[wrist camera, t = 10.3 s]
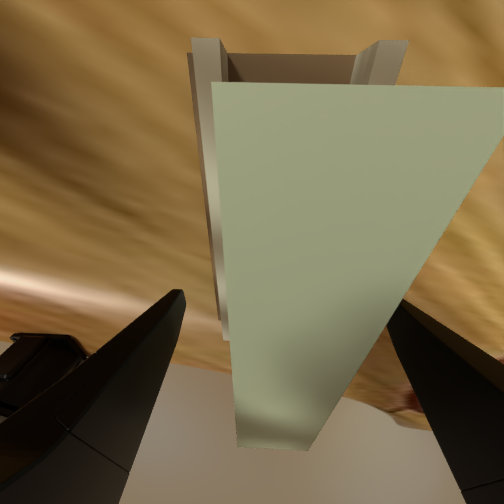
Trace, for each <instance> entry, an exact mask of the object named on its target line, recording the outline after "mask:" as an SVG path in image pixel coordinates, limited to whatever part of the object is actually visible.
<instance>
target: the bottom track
mask: <svg viewBox="0 0 504 504" xmlns="http://www.w3.org/2000/svg"><path fill="white" fill-rule="evenodd" d="M408 42H409V40H379V41H377V42H376V43H374V44H373V45H371V46H370V47H368V48H367V49H365V50H363V51H362V52H360V53H359V54H357V55H308V54H237V53H227V52H226V50H225V48H224V46H223V44H222V42H221V40H220V38H191V43H192V53H187V58H188V66H189V75H190V83H191V91H192V100H193V108H194V117H195V125H196V134H197V142H198V151H199V159H200V168H201V176H202V184H203V193H204V201H205V210H206V218H207V227H208V235H209V244H210V252H211V261H212V269H213V277H214V286H215V294H216V303H217V311H218V320H221V324H222V333H223V340H226V341H230V337H229V323H228V309H227V295H226V281H225V268H224V254H223V240H222V226H221V212H220V199H219V185H218V171H217V157H216V143H215V129H214V116H213V102H212V88H211V82H248V83H299V84H349V85H395V83H396V80H397V77H398V74H399V71H400V67H401V64H402V61H403V58H404V55H405V52H406V49H407V46H408Z"/></svg>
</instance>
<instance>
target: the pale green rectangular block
mask: <svg viewBox="0 0 504 504" xmlns="http://www.w3.org/2000/svg"><path fill="white" fill-rule="evenodd" d="M211 88H212V102H213V116H214V129H215V143H216V157H217V171H218V185H219V199H220V212H221V226H222V240H223V254H224V268H225V281H226V295H227V309H228V323H229V337H230V350H231V364H232V378H233V391H234V406H235V417H236V418H235V419H236V431H237V432H236V433H237V445H238V447H245V448H264V449H283V450H303V451H308V450H309V448H310V447H311V445H312V443H313V442H314V440H315V439H316V437H317V435H318V434H319V432H320V431H321V429H322V427H323V425H324V424H325V422H326V421H327V419H328V418H329V416H330V414H331V413H332V411H333V410H334V408H335V406H336V405H337V403H338V402H339V400H340V398H341V397H342V395H343V394H344V392H345V390H346V389H347V387H348V385H349V384H350V382H351V381H352V379H353V377H354V376H355V374H356V373H357V371H358V369H359V368H360V366H361V365H362V363H363V361H364V360H365V358H366V356H367V355H368V353H369V352H370V350H371V348H372V347H373V345H374V344H375V342H376V340H377V339H378V337H379V336H380V334H381V332H382V331H383V329H384V327H385V326H386V324H387V323H388V321H389V319H390V318H391V316H392V315H393V313H394V311H395V310H396V308H397V307H398V305H399V303H400V302H401V300H402V298H403V297H404V295H405V294H406V292H407V290H408V289H409V287H410V286H411V284H412V282H413V281H414V279H415V278H416V276H417V274H418V273H419V271H420V269H421V268H422V266H423V265H424V263H425V261H426V260H427V258H428V257H429V255H430V253H431V252H432V250H433V249H434V247H435V245H436V244H437V242H438V240H439V239H440V237H441V236H442V234H443V232H444V231H445V229H446V228H447V226H448V224H449V223H450V221H451V220H452V218H453V216H454V215H455V213H456V211H457V210H458V208H459V207H460V205H461V203H462V202H463V200H464V199H465V197H466V195H467V194H468V192H469V191H470V189H471V187H472V186H473V184H474V182H475V181H476V179H477V178H478V176H479V174H480V173H481V171H482V170H483V168H484V166H485V165H486V163H487V162H488V160H489V158H490V157H491V155H492V153H493V152H494V150H495V149H496V147H497V145H498V144H499V142H500V141H501V139H502V137H503V136H504V88H500V87H450V86H399V85H349V84H299V83H248V82H211Z"/></svg>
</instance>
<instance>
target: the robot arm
mask: <svg viewBox="0 0 504 504" xmlns="http://www.w3.org/2000/svg"><path fill="white" fill-rule="evenodd" d="M185 308H186V300H185V296H184V292H183V290H182V289H173V290H171V291H170V292H169V293H167V294H166V295H165V296H164V297H162V298H161V299H160V300H159V301H158V302H156V303H155V304H154V305H153V306H151V307H150V308H149V309H148V310H146V311H145V312H144V313H143V314H142V315H140V316H139V317H138V318H137V319H135V320H134V321H133V322H132V323H130V324H129V325H128V326H127V327H126V328H124V329H123V330H122V331H121V332H119V333H118V334H117V335H116V336H115V337H113V338H112V339H111V340H110V341H108V342H107V343H106V344H105V345H103V346H102V347H101V348H100V349H99V350H97V351H96V353H93V354H92V355H91V356H90V357H89V358H86V356H85V355H84V354H83V353H82V351H81V350H80V349H79V348H78V347H77V345H76V344H75V343H74V342H73V341H72V339H71V338H70V337H68V336H65V335H43V334H19V333H14V334H13V335H12V336H11V337H10V339H11V340H12V341H13V342H14V343H13V344H12V345H11V346H10V347H9V348H8V349H7V350H6V351H5V352H4V353H3V354H1V355H0V504H119V501H120V498H121V496H122V493H123V490H124V487H125V485H126V482H127V479H128V476H129V472H130V470H131V468H132V465H133V462H134V459H135V457H136V454H137V451H138V448H139V446H140V443H141V440H142V437H143V435H144V432H145V429H146V426H147V423H148V421H149V418H150V415H151V413H152V410H153V407H154V404H155V402H156V398H157V396H158V393H159V391H160V388H161V385H162V382H163V380H164V377H165V374H166V371H167V369H168V366H169V363H170V360H171V358H172V355H173V352H174V349H175V347H176V344H177V341H178V337H179V333H180V329H181V325H182V321H183V317H184V312H185ZM386 326H387V329H388V332H389V335H390V337H391V340H392V343H393V346H394V348H395V351H396V353H397V355H398V358H399V360H400V362H401V364H402V366H403V368H404V370H405V373H406V375H407V377H408V379H409V381H410V383H411V385H412V388H413V390H414V392H415V394H416V396H417V398H418V400H419V403H420V405H421V407H422V409H423V411H424V413H425V416H426V418H427V420H428V422H429V424H430V426H431V428H432V431H433V433H434V435H435V437H436V439H437V441H438V443H439V445H440V447H441V450H442V452H443V454H444V456H445V458H446V460H447V463H448V465H449V467H450V469H451V471H452V473H453V476H454V478H455V480H456V482H457V484H458V486H459V489H460V490H461V493H462V495H463V498H464V500H465V502H466V504H504V364H503V363H501V362H500V361H498V360H497V359H495V358H493V357H492V356H490V355H489V354H487V353H486V352H484V351H483V350H481V349H480V348H478V347H477V346H475V345H473V344H472V343H470V342H469V341H467V340H466V339H464V338H463V337H461V336H460V335H458V334H457V333H455V332H453V331H452V330H450V329H449V328H447V327H446V326H444V325H443V324H441V323H440V322H438V321H436V320H435V319H433V318H432V317H430V316H429V315H427V314H426V313H424V312H423V311H421V310H420V309H418V308H416V307H415V306H413V305H412V304H410V303H409V302H407V301H406V300H404V299H403V298H402V300H401V302H400V303H399V305H398V307H397V308H396V310H395V311H394V313H393V315H392V316H391V318H390V319H389V321H388V323H387V324H386Z"/></svg>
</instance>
